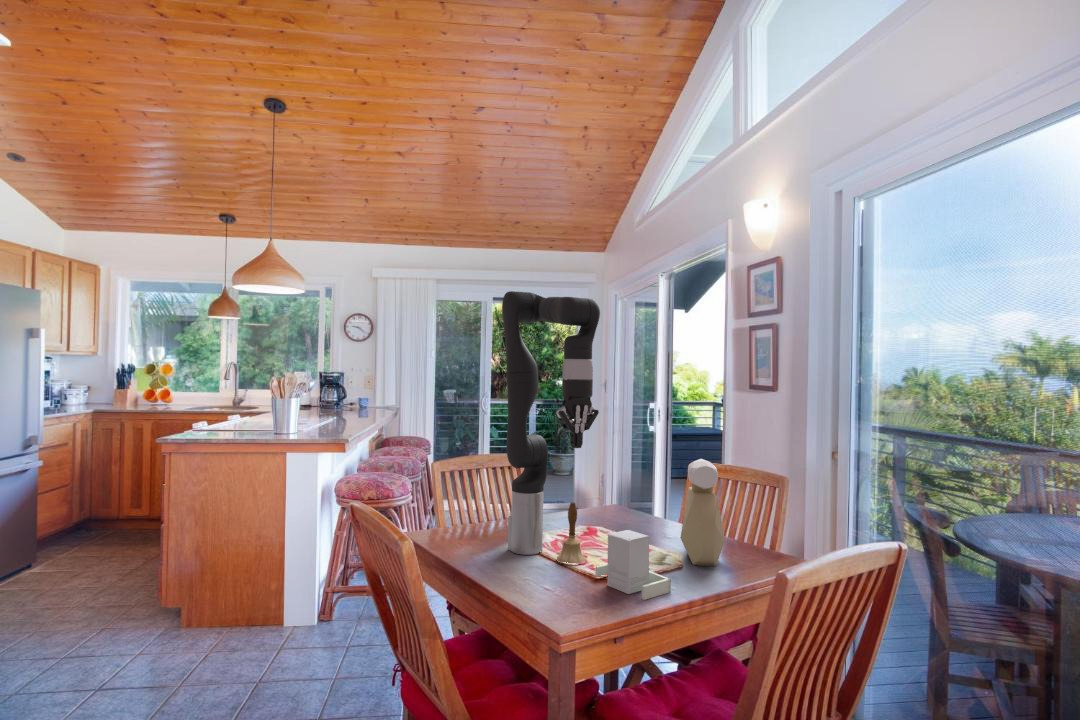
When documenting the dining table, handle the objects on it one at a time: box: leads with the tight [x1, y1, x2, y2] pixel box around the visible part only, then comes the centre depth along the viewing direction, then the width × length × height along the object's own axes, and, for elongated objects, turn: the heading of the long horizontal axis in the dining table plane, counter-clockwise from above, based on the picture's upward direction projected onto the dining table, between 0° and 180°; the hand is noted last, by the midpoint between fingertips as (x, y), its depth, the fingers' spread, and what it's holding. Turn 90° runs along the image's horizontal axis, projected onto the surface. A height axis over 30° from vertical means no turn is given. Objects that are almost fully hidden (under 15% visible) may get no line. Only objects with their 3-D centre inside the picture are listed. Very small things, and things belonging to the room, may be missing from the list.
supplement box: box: [606, 529, 650, 595], centre depth 141 cm, size 7×7×13 cm
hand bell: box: [556, 501, 587, 563], centre depth 160 cm, size 8×8×16 cm
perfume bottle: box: [680, 458, 726, 567], centre depth 163 cm, size 12×24×28 cm, turn 173°
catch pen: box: [595, 563, 672, 601], centre depth 142 cm, size 9×17×3 cm, turn 36°
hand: (576, 447), depth 144 cm, fingers closed
